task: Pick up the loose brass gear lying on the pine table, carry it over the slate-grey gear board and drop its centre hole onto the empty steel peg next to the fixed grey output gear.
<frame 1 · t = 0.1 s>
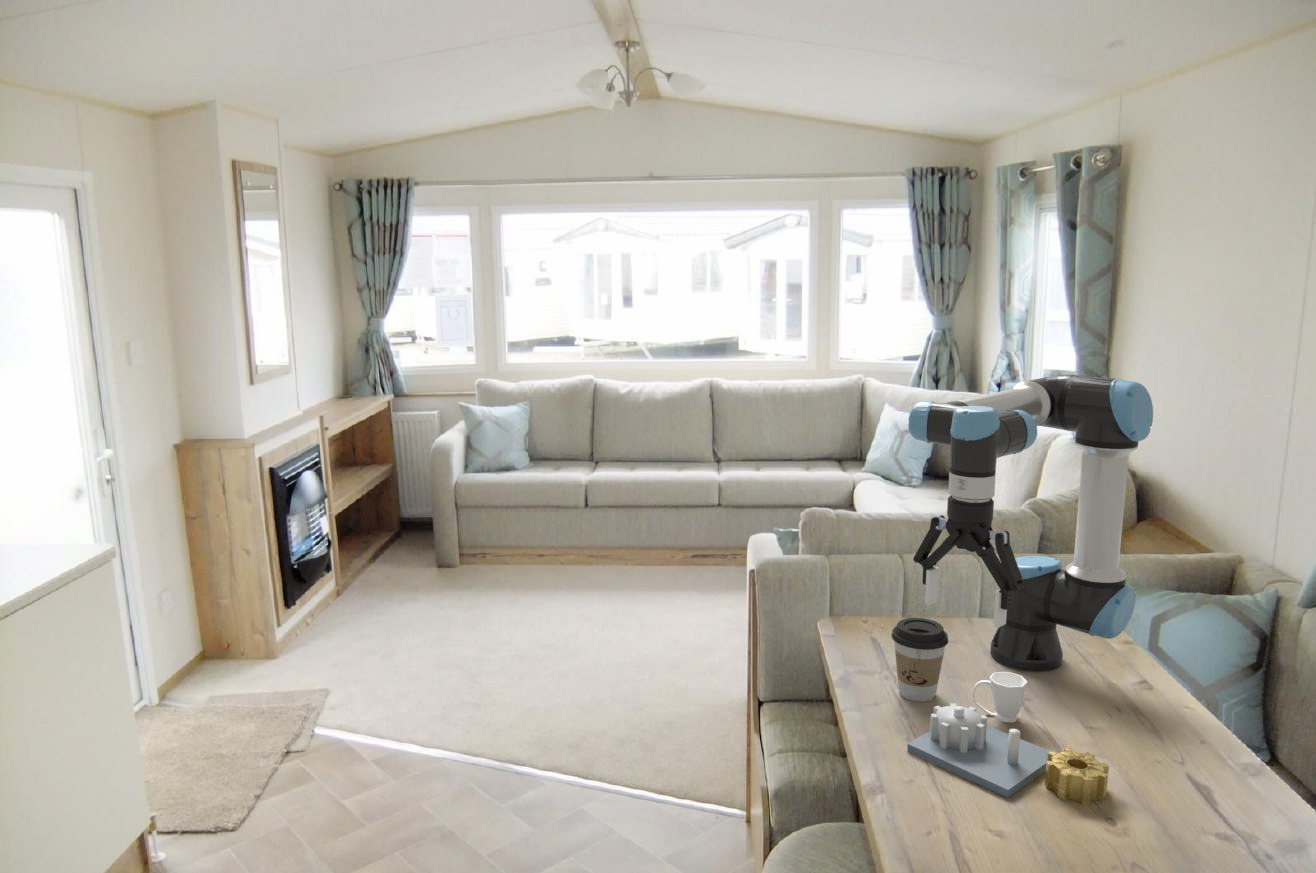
hand: (964, 614, 164), 28 cm above the table, fingers open, 13 cm apart
cup: (997, 716, 185), on the table
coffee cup: (917, 694, 194), on the table
gear board: (981, 756, 170), on the table
brass gear: (1075, 787, 160), on the table
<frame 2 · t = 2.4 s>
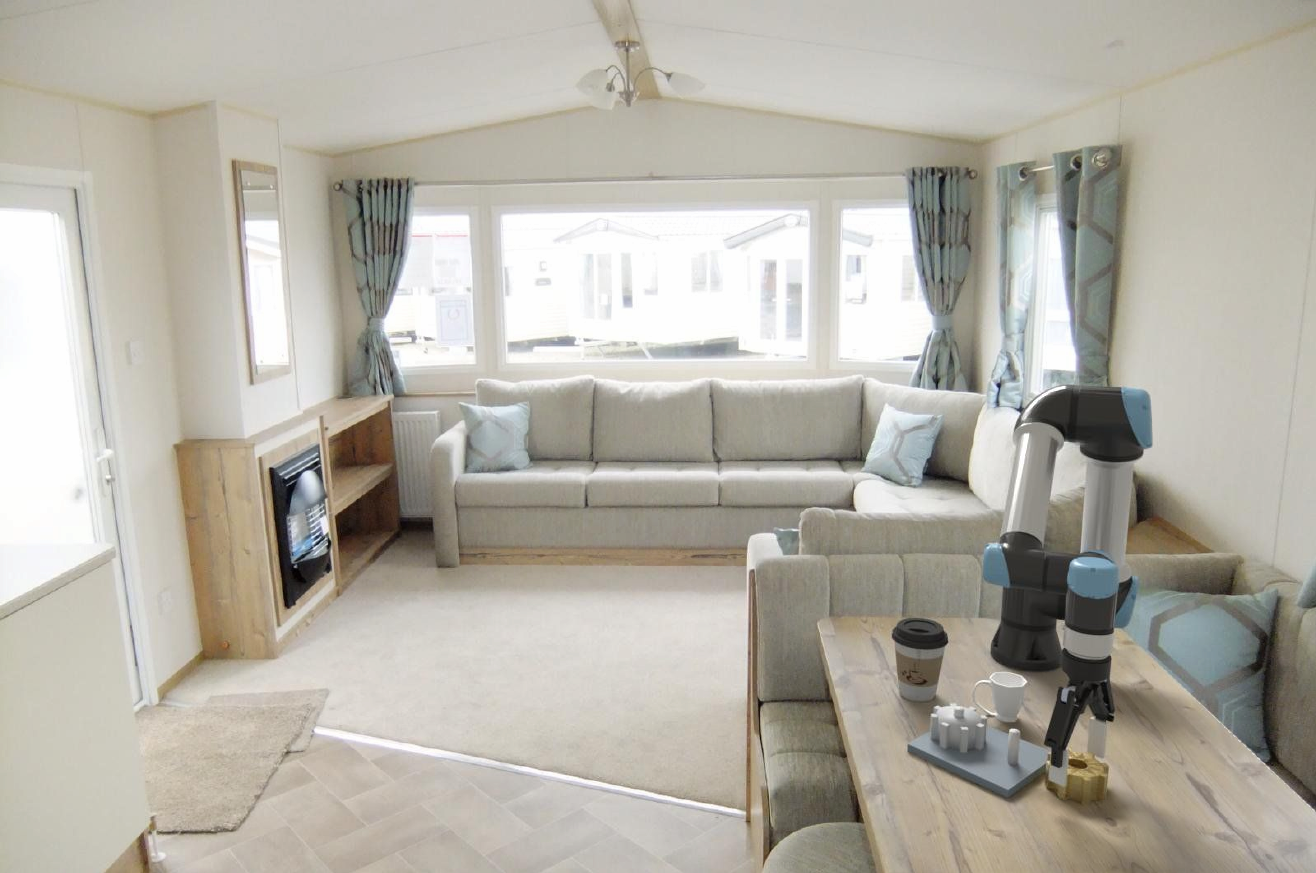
hand: (1077, 768, 159), 4 cm above the table, fingers open, 13 cm apart
nothing on the table moved.
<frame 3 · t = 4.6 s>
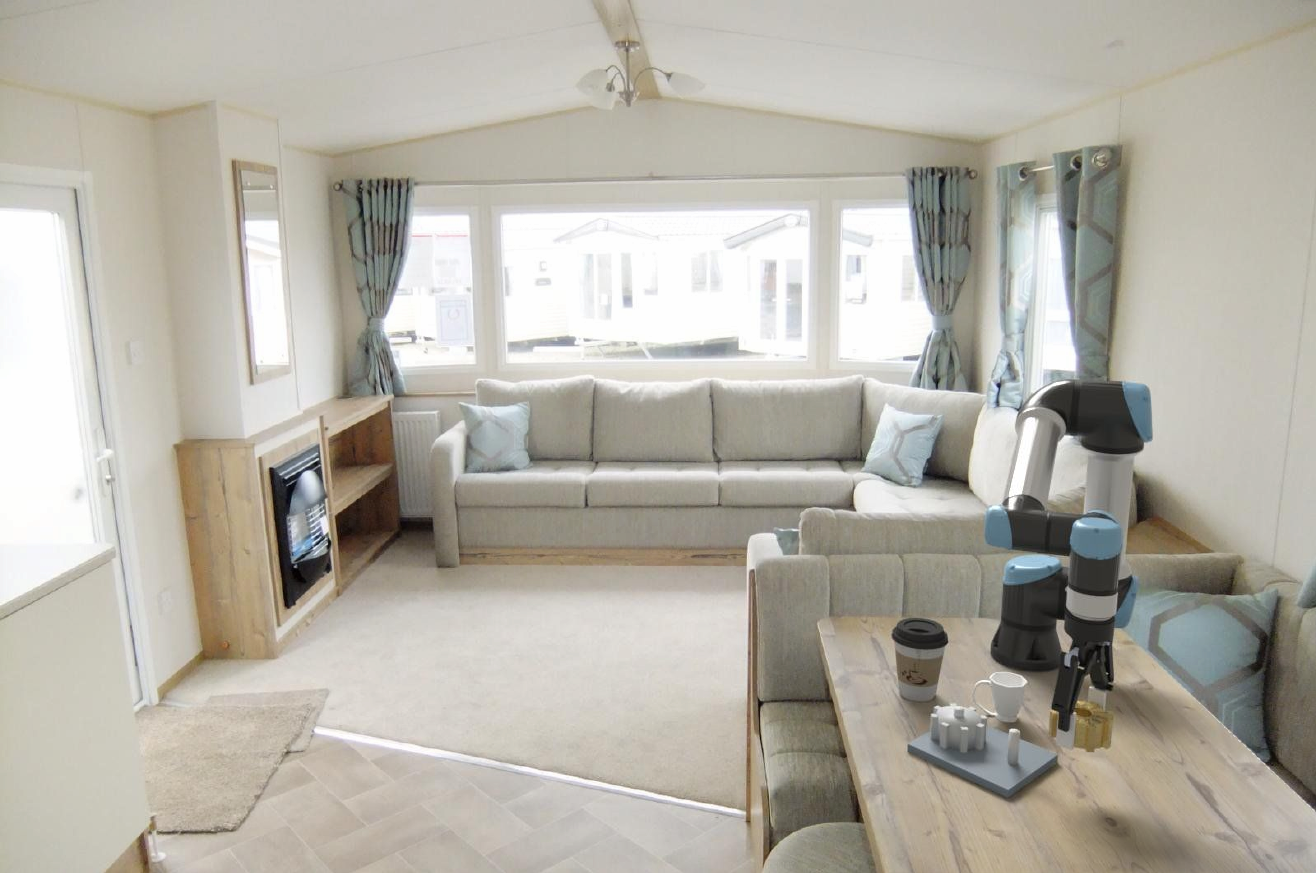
hand: (1079, 734, 159), 10 cm above the table, fingers closed on brass gear, 10 cm apart
brass gear: (1079, 736, 159), point 9 cm above the table, touching gripper
everything else where it was.
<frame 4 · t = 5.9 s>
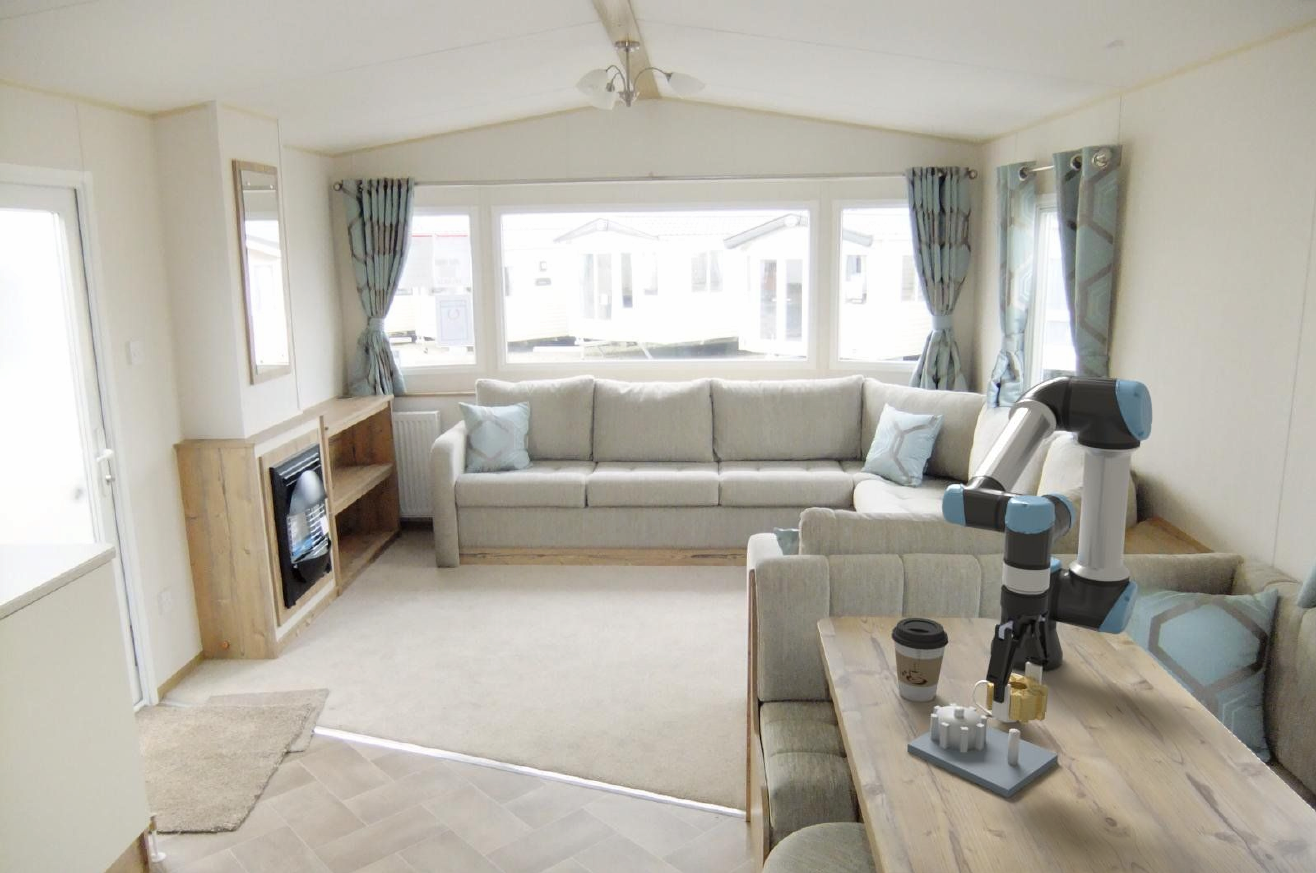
hand: (1016, 708, 163), 12 cm above the table, fingers closed on brass gear, 10 cm apart
brass gear: (1015, 709, 163), point 12 cm above the table, touching gripper
everything else where it was.
when the fingers open (3 cm above the table, at t = 7.8 s): brass gear drops 1 cm, resting on gear board.
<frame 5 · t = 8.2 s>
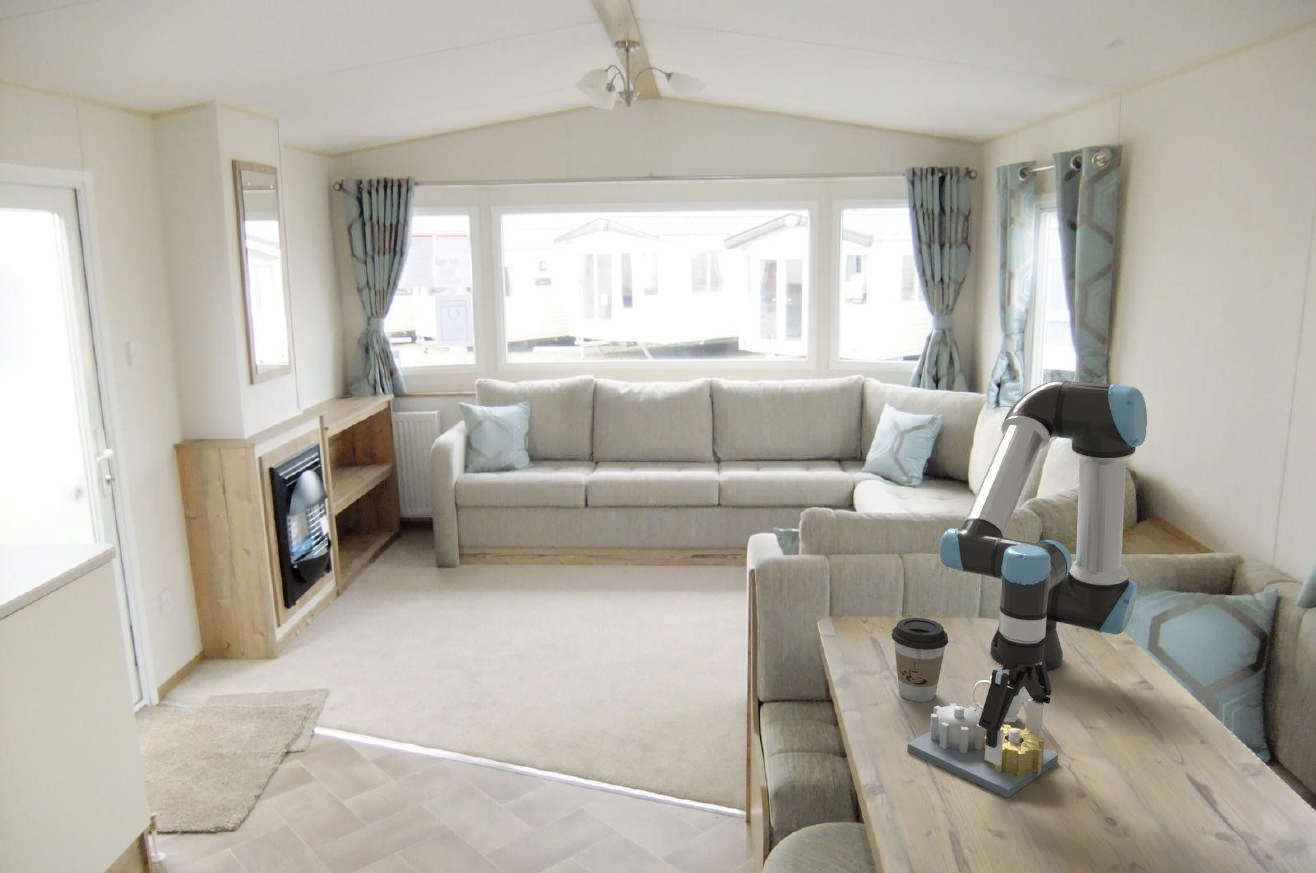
hand: (1013, 748, 165), 4 cm above the table, fingers open, 13 cm apart
brass gear: (1012, 761, 165), point 1 cm above the table, touching gear board
everything else where it was.
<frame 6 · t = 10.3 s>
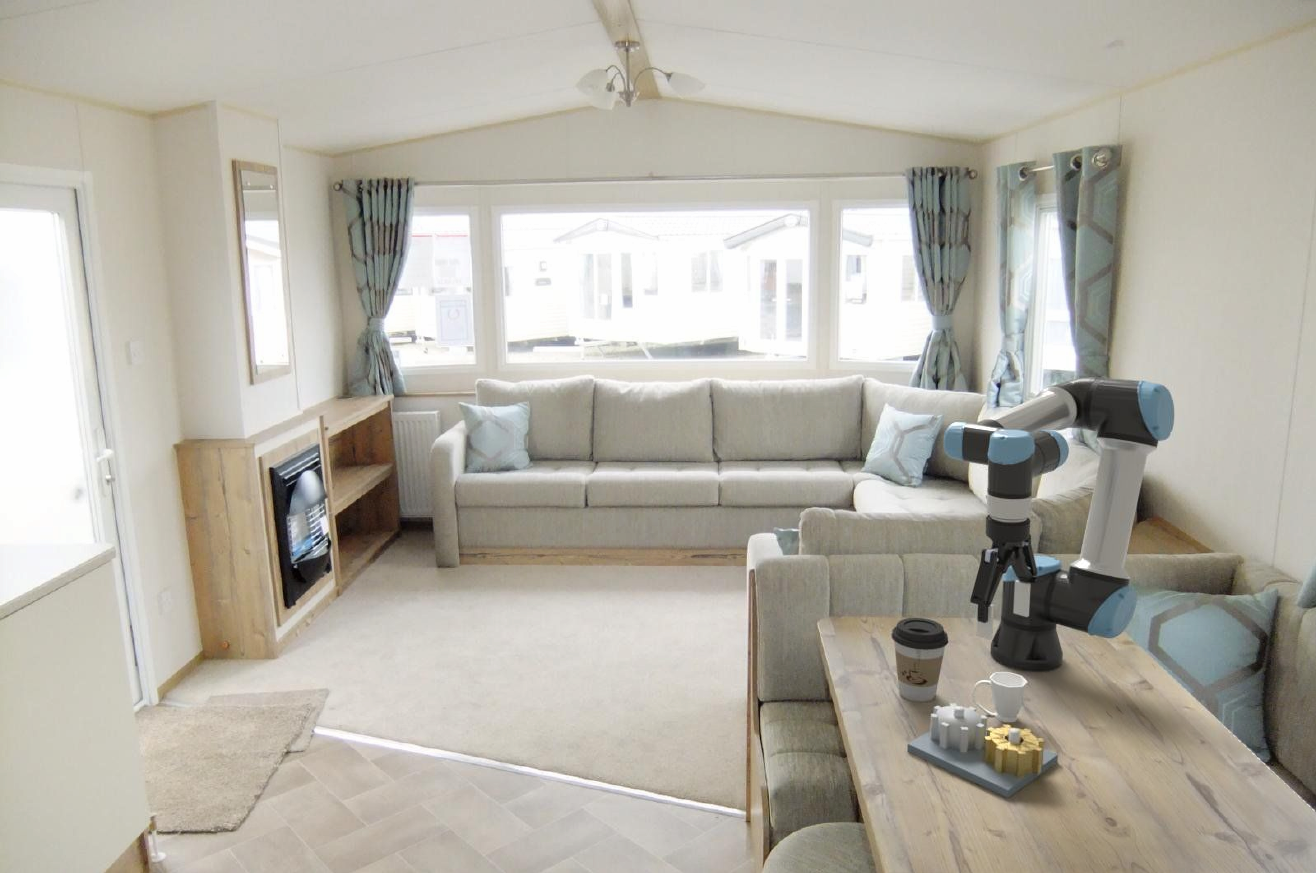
hand: (1003, 625, 173), 22 cm above the table, fingers open, 13 cm apart
nothing on the table moved.
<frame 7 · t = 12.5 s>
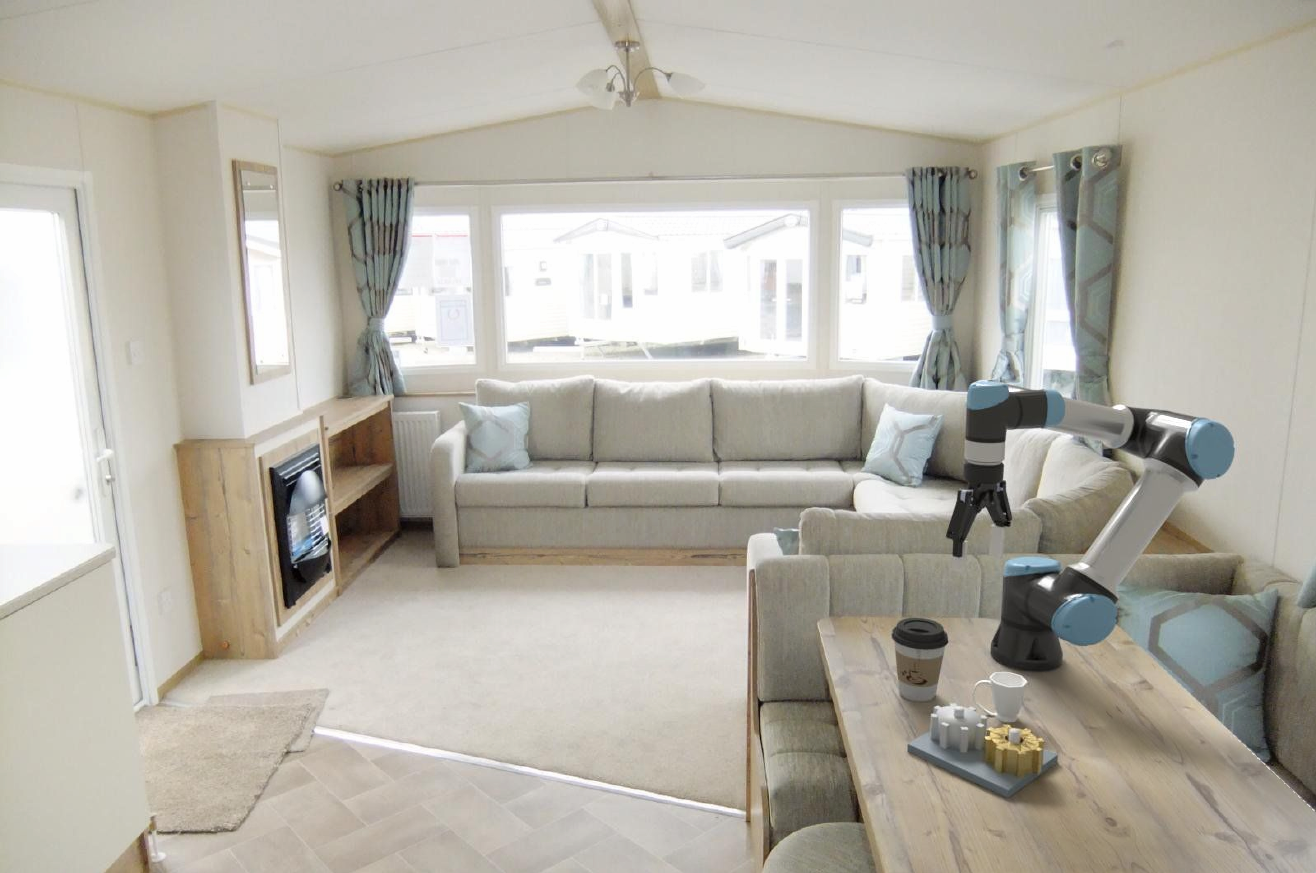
hand: (977, 564, 187), 29 cm above the table, fingers open, 13 cm apart
nothing on the table moved.
at the end: brass gear 0.1 cm from the target spot on the gear board, point 1.5 cm above the gear board's base; the gripper is holding nothing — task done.
